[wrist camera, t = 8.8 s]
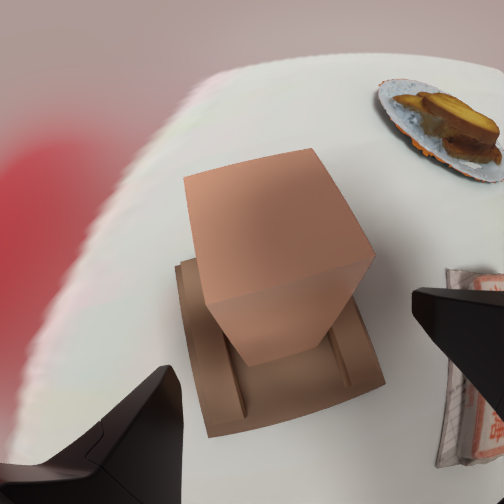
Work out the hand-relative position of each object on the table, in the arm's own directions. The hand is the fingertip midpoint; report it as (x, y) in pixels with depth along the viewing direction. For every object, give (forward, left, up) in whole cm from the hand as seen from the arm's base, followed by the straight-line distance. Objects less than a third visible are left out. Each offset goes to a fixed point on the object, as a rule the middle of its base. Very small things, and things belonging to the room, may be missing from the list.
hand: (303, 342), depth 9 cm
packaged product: (-3, -18, -12) cm, 22 cm away
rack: (+4, +1, -12) cm, 12 cm away
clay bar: (+4, +1, -11) cm, 11 cm away
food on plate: (+30, -30, -12) cm, 44 cm away
